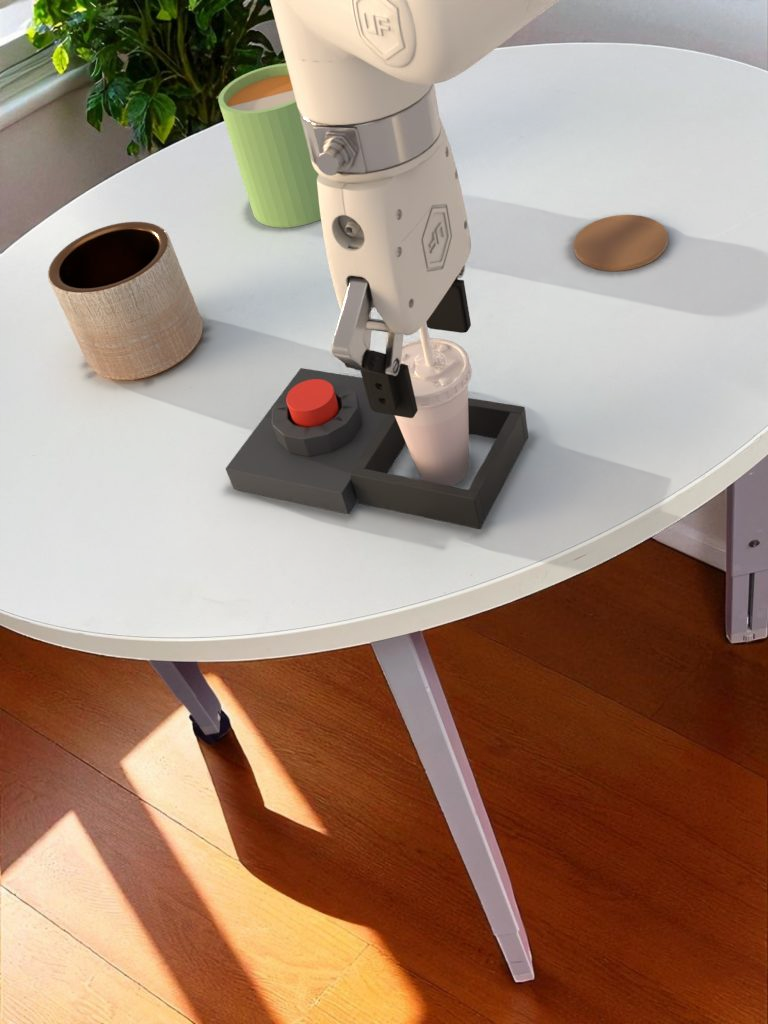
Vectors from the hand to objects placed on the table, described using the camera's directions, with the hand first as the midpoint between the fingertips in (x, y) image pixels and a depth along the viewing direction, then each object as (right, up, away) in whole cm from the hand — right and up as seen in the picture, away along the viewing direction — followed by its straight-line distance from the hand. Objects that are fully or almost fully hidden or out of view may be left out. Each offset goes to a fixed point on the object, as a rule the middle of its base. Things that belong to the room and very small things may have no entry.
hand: (422, 368), depth 72 cm
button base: (-7, -5, +11) cm, 14 cm away
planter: (-24, +5, +25) cm, 35 cm away
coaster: (+18, +14, +22) cm, 32 cm away
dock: (+2, -7, +7) cm, 10 cm away
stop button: (-8, -2, +8) cm, 12 cm away
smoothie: (+2, -7, +7) cm, 10 cm away
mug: (-11, +23, +39) cm, 47 cm away
